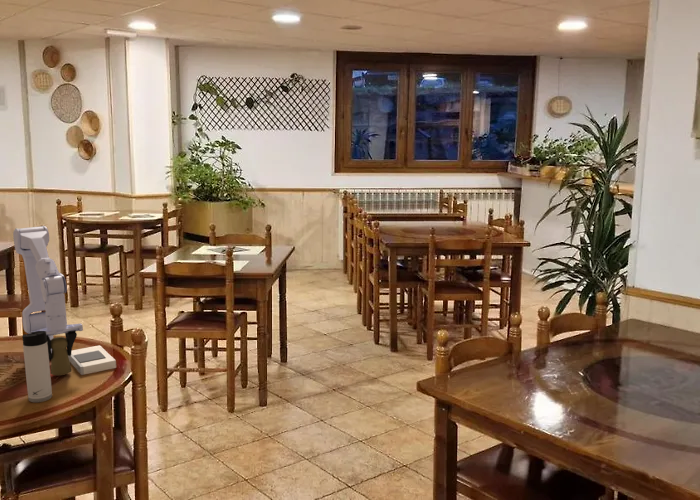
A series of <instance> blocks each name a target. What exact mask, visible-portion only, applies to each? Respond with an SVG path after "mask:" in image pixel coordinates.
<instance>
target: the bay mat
mask: <svg viewBox="0 0 700 500" xmlns="http://www.w3.org/2000/svg"><path fill="white" fill-rule="evenodd" d="M74 357H75V358H76V359H77V360H78V361H79V362H80V363H83V362H88V361H93V360H99V359H104V358H106V357H105V356H104V355H103V354H102V353H101V352H100V351H99V350H98V351H93V352H88V353H82V354H77V355H74Z"/></svg>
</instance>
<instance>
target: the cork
mask: <svg viewBox="0 0 700 500" xmlns="http://www.w3.org/2000/svg"><path fill="white" fill-rule="evenodd" d="M67 345H68V341H67V339H66V337H65V336H57V337H53V339H51V349H52V359H50V360H51V361H50V375H52V376H64V375H67V374H70V373H72V366H71V365H72V364H71V362H70V361H69V357H68V353H67Z"/></svg>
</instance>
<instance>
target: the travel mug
mask: <svg viewBox="0 0 700 500" xmlns="http://www.w3.org/2000/svg"><path fill="white" fill-rule="evenodd" d="M21 336H22V349H23V357H24V358H23V359H24V369H25V377H26V390H27V396H28V397H27V399H28V400H27V401H28V402H31V403H43V402H47V401H49V400H50V399H52V398H53V391H52V389H53V388H52V379H51V365H50V359H49V355H48V345H47V339H46V338H47V336H46V331H36V332H31V333H30V334H29V333H24V334H22V335H21Z"/></svg>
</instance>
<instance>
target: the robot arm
mask: <svg viewBox="0 0 700 500" xmlns="http://www.w3.org/2000/svg"><path fill="white" fill-rule="evenodd" d="M49 232H50V231H49V229H48V227H47V226H45V225H41V226H32V227H23V228H22V227H21V228H17V227H16V228H15V229H14V230H13V232H12V233H13V235H12V236H13V237H12V238H13V244H14V250H15V253H16V254H18V255H21V257H22V259H23V264H24V270H25V271H24V272H25V277H26V285H27V291H28V297H29V304H28V305H27V306H26V307H25V308H24V309H23V310H22V313H21V314H22V319H21V320H22V327H23V330H24V332H25V334H30V333H31V332H36V331H46V336H47V338H46V339H47V345H48V355H49V360H51V359H52V349H51V339H53V338H54V336H56V335H63V334H64V337H65V338H66V339H67V341H68V345H67V347H66V349H67V353H68V356H71V351H72V350H73V346H74V343H75V342H76V338H77V336H78V334H77V332H83V331H84V329H83V327H84V326H83V324H82V323H73V324H68V318H67V309H66V298H65V295H66V293H67V289H68V288H67V282H66V277H65V275H64V274H62V272H59V269H58V266H57V264H56V262H55V260H54V259H52V258H50V256H49V252H48V248H47V247H48V245H49V242H50V233H49Z"/></svg>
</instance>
